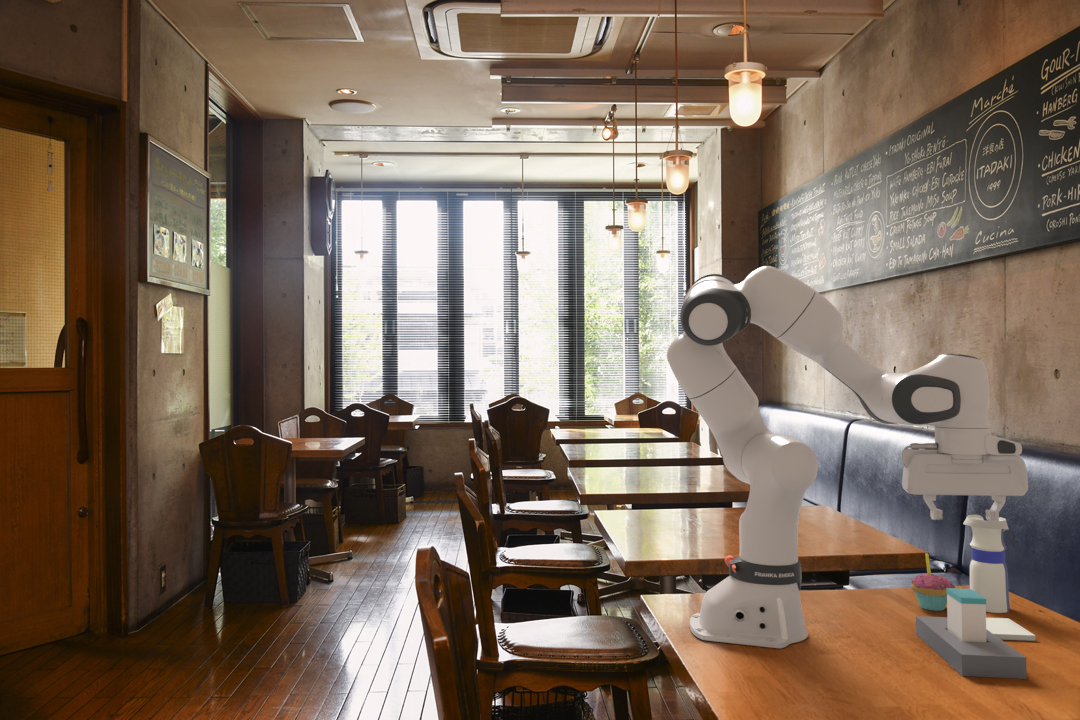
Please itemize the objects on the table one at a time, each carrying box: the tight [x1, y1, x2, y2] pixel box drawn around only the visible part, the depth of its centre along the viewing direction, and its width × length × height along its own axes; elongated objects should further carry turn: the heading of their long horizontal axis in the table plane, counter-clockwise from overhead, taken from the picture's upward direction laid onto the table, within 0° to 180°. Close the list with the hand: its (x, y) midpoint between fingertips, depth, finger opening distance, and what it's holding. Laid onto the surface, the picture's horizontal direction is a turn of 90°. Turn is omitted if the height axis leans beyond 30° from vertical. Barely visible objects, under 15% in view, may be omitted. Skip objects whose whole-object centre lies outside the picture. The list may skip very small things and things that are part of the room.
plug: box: [946, 587, 987, 642], centre depth 130 cm, size 4×6×11 cm
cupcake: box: [910, 549, 956, 612], centre depth 158 cm, size 9×8×12 cm
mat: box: [986, 617, 1037, 642], centre depth 143 cm, size 10×10×1 cm
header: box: [915, 615, 1028, 680], centre depth 130 cm, size 10×20×4 cm, turn 172°
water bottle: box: [962, 500, 1011, 614], centre depth 158 cm, size 8×8×25 cm
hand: (964, 519), depth 131 cm, fingers open, 8 cm apart
